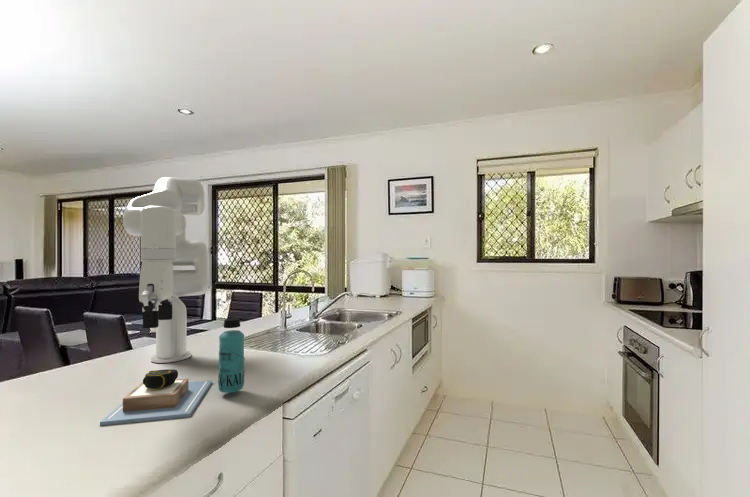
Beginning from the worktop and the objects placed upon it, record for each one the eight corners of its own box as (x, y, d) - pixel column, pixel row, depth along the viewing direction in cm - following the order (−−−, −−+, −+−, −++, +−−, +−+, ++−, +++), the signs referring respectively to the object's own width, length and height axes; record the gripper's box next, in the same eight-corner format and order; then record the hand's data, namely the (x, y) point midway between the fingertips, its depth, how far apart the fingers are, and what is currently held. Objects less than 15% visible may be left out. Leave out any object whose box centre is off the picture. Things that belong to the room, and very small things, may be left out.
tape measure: (179, 381, 94) (179, 366, 94) (170, 390, 87) (170, 375, 87) (150, 383, 92) (150, 368, 92) (138, 393, 85) (139, 377, 85)
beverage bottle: (222, 389, 97) (223, 316, 98) (247, 388, 98) (247, 316, 98) (214, 399, 91) (214, 321, 91) (240, 398, 92) (240, 320, 92)
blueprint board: (142, 388, 99) (142, 374, 99) (212, 382, 103) (212, 369, 103) (99, 425, 77) (100, 407, 77) (189, 416, 81) (189, 399, 81)
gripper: (155, 255, 97) (155, 317, 97) (125, 256, 80) (125, 332, 80) (185, 254, 99) (185, 316, 99) (162, 256, 82) (162, 330, 82)
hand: (158, 323), depth 90 cm, fingers open, 9 cm apart
